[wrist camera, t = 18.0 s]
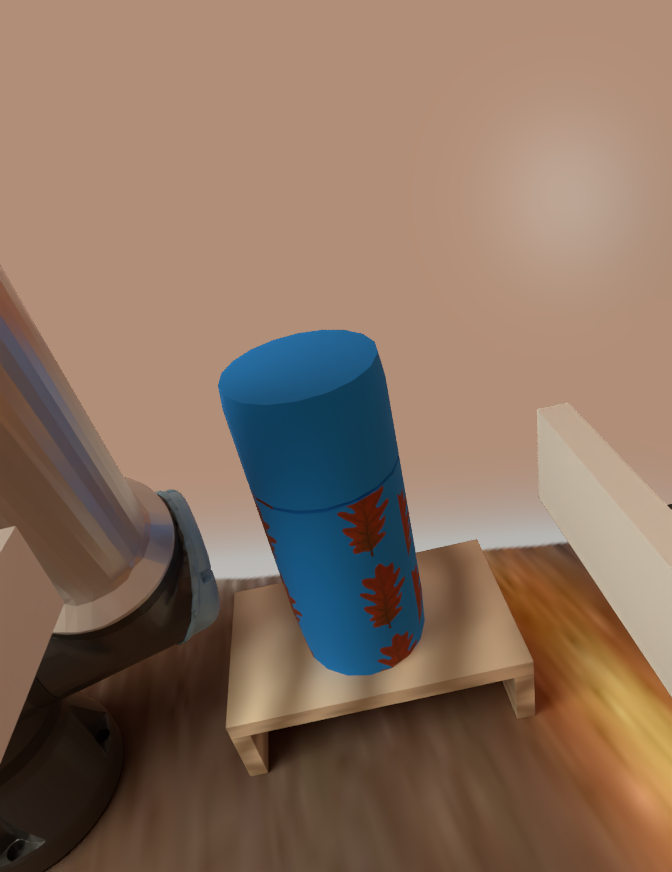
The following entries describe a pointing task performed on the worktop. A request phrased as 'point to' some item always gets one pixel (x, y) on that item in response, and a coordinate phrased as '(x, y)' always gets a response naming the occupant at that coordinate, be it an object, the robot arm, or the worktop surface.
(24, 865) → the robot arm
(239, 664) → the stool
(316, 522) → the thermos
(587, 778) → the worktop surface
